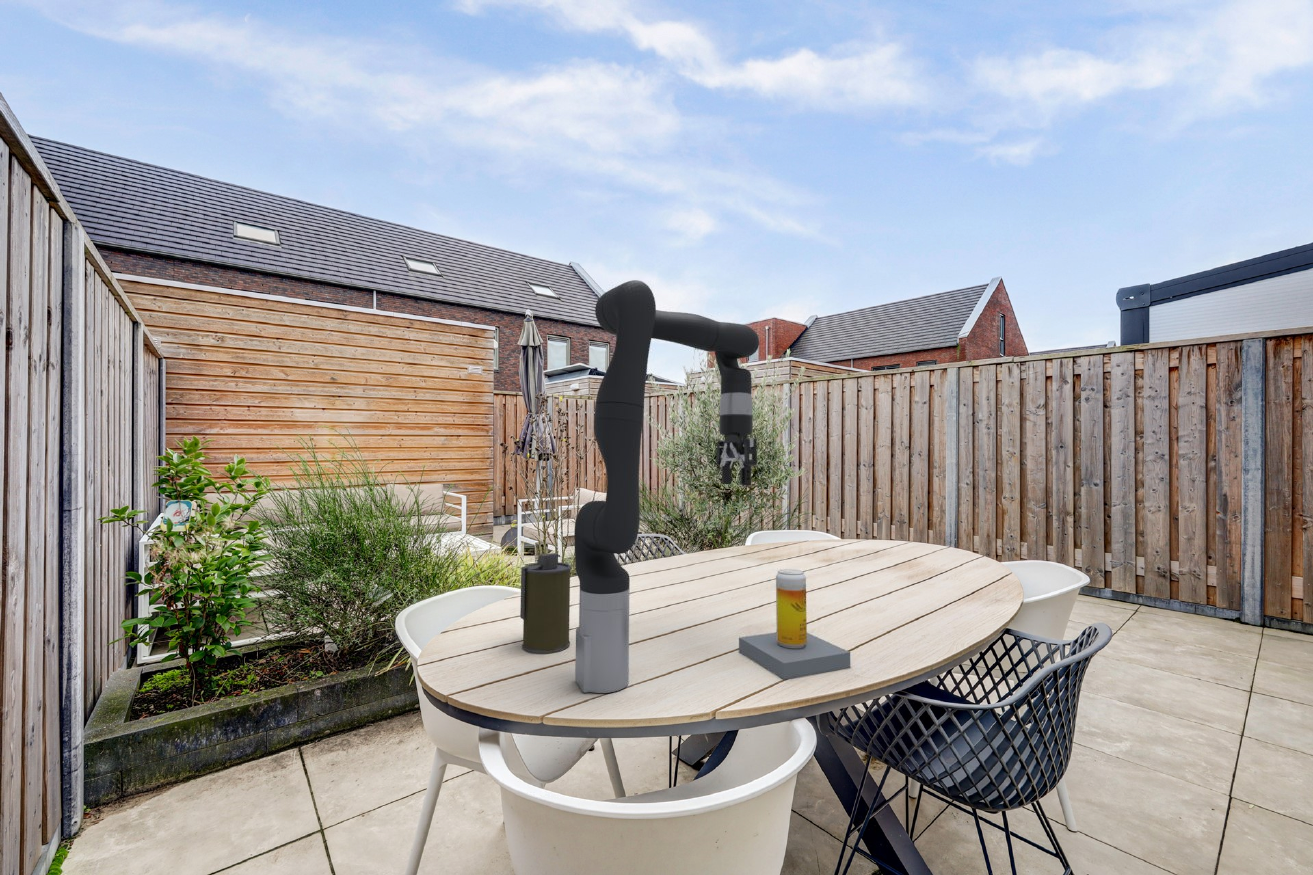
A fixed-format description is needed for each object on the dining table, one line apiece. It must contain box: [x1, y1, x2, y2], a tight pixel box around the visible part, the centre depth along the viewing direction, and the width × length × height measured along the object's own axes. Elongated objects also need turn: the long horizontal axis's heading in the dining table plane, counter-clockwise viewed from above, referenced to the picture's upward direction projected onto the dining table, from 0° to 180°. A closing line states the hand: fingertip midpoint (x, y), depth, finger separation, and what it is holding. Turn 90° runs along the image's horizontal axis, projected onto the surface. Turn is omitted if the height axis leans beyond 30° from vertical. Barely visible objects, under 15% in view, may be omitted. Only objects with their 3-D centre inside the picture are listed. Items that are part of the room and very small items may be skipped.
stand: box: [738, 631, 851, 681], centre depth 110 cm, size 16×16×3 cm
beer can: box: [775, 568, 808, 648], centre depth 111 cm, size 6×6×15 cm
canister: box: [519, 552, 572, 655], centre depth 118 cm, size 11×10×20 cm
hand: (735, 484), depth 121 cm, fingers open, 8 cm apart
